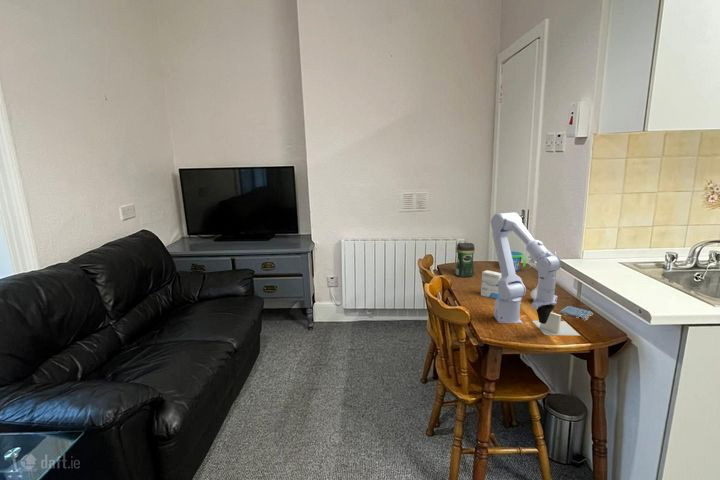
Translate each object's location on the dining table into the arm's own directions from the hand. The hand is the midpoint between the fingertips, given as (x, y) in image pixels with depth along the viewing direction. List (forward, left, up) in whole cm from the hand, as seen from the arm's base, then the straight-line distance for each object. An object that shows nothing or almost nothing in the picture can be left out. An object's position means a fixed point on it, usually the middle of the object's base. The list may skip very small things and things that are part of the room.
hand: (542, 322), depth 150 cm
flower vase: (+13, +35, -5) cm, 37 cm away
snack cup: (+17, +87, -5) cm, 88 cm away
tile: (+5, +4, -4) cm, 7 cm away
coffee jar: (-13, +75, -5) cm, 76 cm away
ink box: (-7, +42, -5) cm, 43 cm away
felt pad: (+8, +6, -5) cm, 11 cm away
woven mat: (+23, +21, -6) cm, 31 cm away
